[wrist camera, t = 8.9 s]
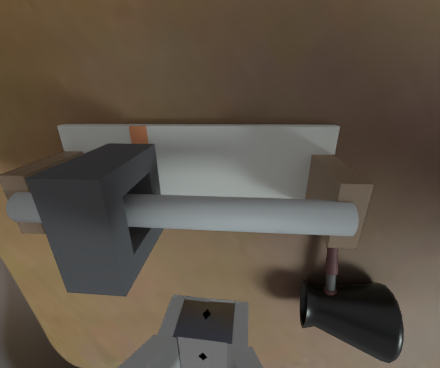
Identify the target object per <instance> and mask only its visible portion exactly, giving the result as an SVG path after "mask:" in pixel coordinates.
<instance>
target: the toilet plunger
mask: <svg viewBox="0 0 440 368" xmlns="http://www.w3.org/2000/svg"><path fill="white" fill-rule="evenodd" d="M325 272H326V285H325V286H321V287H315V286H313V285H311V284H310V283H308V282H306V281H303V287H302V291H301V295H300V322H301V326H302V328H307V327H312V326H315V327H317V328H319V329H321V330H323V331H325V332H327V333H328V334H330V335H332V336H334V337H336V338H338V339H340V340H342V341H344V342H346V343H348V344H350V345H351V346H353V347H355V348H357V349H359V350H361V351H363V352H365V353H367V354H369V355H371V356H373V357H374V358H376V359H378V360H380V361H383V362H387V363H390V362H392V361H394V360H396V359H397V358H398V356H399V355H400V353H401V350H402V345H403V334H404V328H403V321H402V314H401V311H400V308H399V305H398V302H397V300H396V298H395V296H394V294H393V293H392V292H391V291H390V290H389V289H388V288H387V287H386V286H385V285H383V284H381V283H363V284H349V285H335V284H336V275H337V274H338V248H328V247H327V257H326V263H325Z"/></svg>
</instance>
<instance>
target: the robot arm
mask: <svg viewBox="0 0 440 368" xmlns="http://www.w3.org/2000/svg"><path fill="white" fill-rule="evenodd" d="M118 368H263V366H262V365H261V363H260V361H259V359H258V357H257V355H256V353H255V352H254V350H253V348H252V347H249V346H248V302H239V301H232V300H221V299H206V298H198V297H191V296H183V295H173V297H172V298H171V301H170V303H169V306H168V309H167V311H166V314H165V317H164V319H163V322H162V325H161V327H160V330H159V333H158V335H153V336H152V337H151V338H150V339H149V340H147V341H146V342H145V343H144V344H143V345H142V346H141V347H140V348H139V349H138V350H137V351H135V352H134V353H133V354H132V355H131V356H130V357H129V358H128V359H127V360H126V361H125V362H123V363H122V364H121V365H120V366H119V367H118Z"/></svg>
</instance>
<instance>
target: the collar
mask: <svg viewBox="0 0 440 368" xmlns="http://www.w3.org/2000/svg"><path fill="white" fill-rule="evenodd" d="M26 181H27V184H28V186H29V189H30V192H31V194H32V197H33V200H34V203H35V205H36V208H37V211H38V214H39V216H40V219H41V222H42V225H43V227H44V230H45V233H46V235H47V238H48V241H49V244H50V246H51V249H52V252H53V255H54V257H55V260H56V263H57V266H58V268H59V271H60V274H61V276H62V279H63V282H64V285H65V287H66V290H67V292H70V293H85V294H99V295H113V296H127V294H128V292H129V290H130V288H131V287H132V285H133V283H134V281H135V279H136V278H137V276H138V274H139V272H140V270H141V269H142V267H143V265H144V263H145V261H146V260H147V258H148V256H149V254H150V252H151V251H152V249H153V247H154V245H155V243H156V242H157V240H158V238H159V236H160V234H161V232H162V231H163V229H164V228H146V227H128V223H127V218H126V212H125V207H124V202H123V196H124V195H125V194H154V195H161V191H160V183H159V175H158V167H157V158H156V150H155V144H122V143H108V144H106V145H103V146H101V147H99V148H96V149H94V150H91V151H89V152H87V153H84V154H82V155H80V156H77V157H75V158H73V159H70V160H68V161H66V162H63V163H61V164H59V165H56V166H54V167H52V168H49V169H47V170H44V171H42V172H40V173H37V174H35V175H33V176H30V177H28V178H26Z"/></svg>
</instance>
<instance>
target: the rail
mask: <svg viewBox="0 0 440 368" xmlns="http://www.w3.org/2000/svg"><path fill="white" fill-rule="evenodd" d="M57 128H58V131H59V135H60V138H61V142H62V146H63V149H64V151H63V152H60V153H58V154H55V155H52V156H49V157H47V158H44V159H41V160H38V161H36V162H33V163H30V164H27V165H25V166H22V167H19V168H16V169H14V170H11V171H8V172H5V173H3V174H0V182H1V185H2V187H3V190H4V192H5V194H6V197H7V199H8V202H7V206H6V211H7V214H8V216H9V217H10V218H11V219H12V220H13V221H16V222H17V223H18V226H19V228H20V231H21V233H34V234H45V230H44V227H43V225H42V222H41V219H40V216H39V214H38V211H37V208H36V205H35V203H34V200H33V197H32V194H31V192H30V189H29V186H28V184H27V181H26V178H28V177H30V176H33V175H35V174H37V173H40V172H42V171H44V170H47V169H49V168H52V167H54V166H56V165H59V164H61V163H63V162H66V161H68V160H70V159H73V158H75V157H77V156H80V155H82V154H84V153H87V152H89V151H91V150H94V149H96V148H99V147H101V146H103V145H106V144H108V143H122V144H155V150H156V158H157V167H158V175H159V183H160V191H161V195H154V194H125V195H124V196H123V202H124V207H125V212H126V218H127V223H128V227H146V228H169V229H192V230H215V231H238V232H261V233H284V234H307V235H321V236H322V238H323V240H324V241H325V243H326V245H327V247H328V248H347V249H357V246H358V242H359V239H360V235H361V232H362V228H363V224H364V221H365V217H366V213H367V210H368V206H369V202H370V199H371V195H372V191H373V188H374V184H373V183H372V182H370V181H369V180H368V179H366V178H365V177H364V176H362V175H361V174H360V173H358V172H357V171H356V170H354V169H353V168H352V167H350V166H349V165H347V164H346V163H345V162H343V161H342V160H341V159H339V158H338V157H337V156H335V151H336V145H337V140H338V135H339V130H340V126H337V125H321V124H62V125H58V126H57Z"/></svg>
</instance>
